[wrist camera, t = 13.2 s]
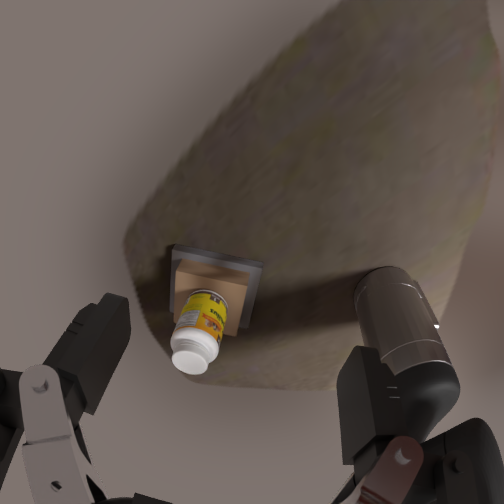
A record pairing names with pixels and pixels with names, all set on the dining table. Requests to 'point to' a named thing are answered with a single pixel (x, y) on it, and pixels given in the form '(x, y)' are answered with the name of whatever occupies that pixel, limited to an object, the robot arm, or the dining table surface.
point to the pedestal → (215, 282)
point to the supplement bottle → (199, 331)
